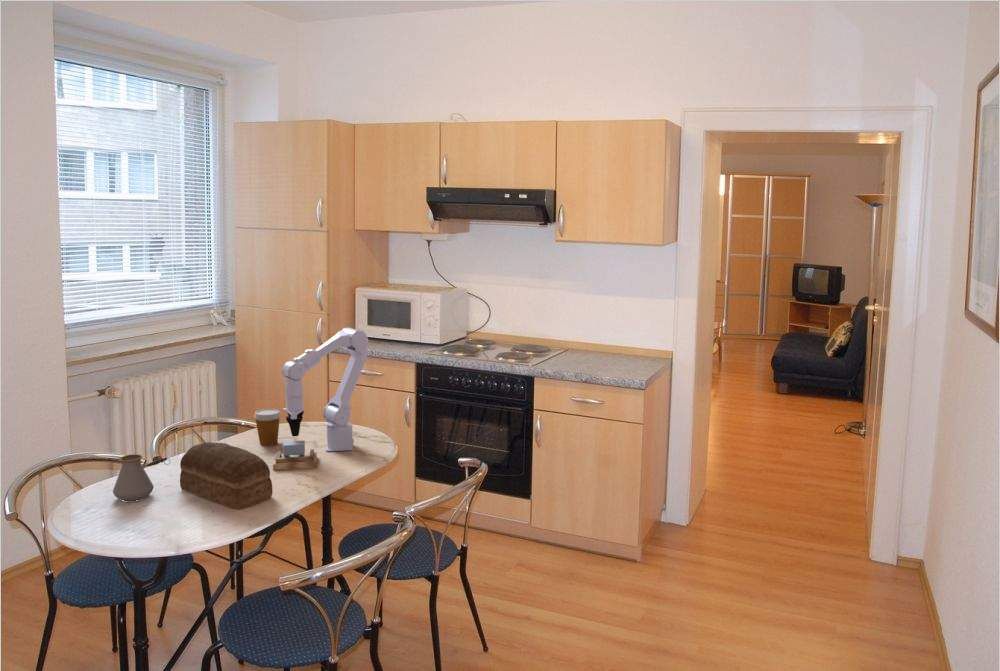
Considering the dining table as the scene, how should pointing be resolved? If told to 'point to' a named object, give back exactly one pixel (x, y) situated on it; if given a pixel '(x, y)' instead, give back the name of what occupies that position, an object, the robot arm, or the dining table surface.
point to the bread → (225, 475)
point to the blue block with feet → (293, 448)
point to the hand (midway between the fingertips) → (295, 433)
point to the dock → (295, 461)
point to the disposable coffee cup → (267, 426)
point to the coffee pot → (133, 478)
